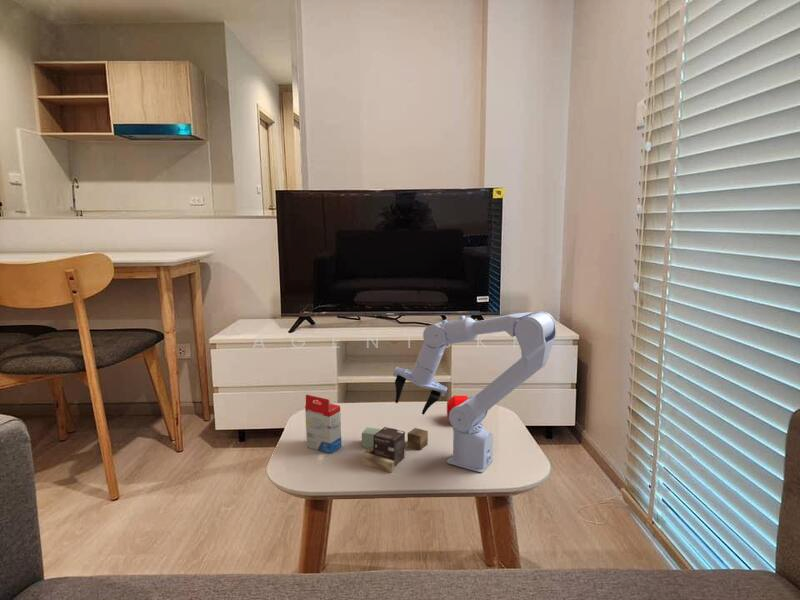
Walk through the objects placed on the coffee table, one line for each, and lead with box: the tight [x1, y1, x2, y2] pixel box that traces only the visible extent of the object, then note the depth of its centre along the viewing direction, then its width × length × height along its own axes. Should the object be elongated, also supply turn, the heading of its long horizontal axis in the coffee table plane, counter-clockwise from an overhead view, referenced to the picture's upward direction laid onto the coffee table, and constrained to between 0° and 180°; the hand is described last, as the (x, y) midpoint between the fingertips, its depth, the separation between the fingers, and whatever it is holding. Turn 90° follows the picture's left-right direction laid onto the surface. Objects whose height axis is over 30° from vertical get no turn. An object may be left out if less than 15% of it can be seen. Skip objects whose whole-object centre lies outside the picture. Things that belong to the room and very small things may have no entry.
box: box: [373, 426, 406, 468], centre depth 120 cm, size 6×6×7 cm
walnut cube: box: [406, 427, 429, 451], centre depth 128 cm, size 4×4×4 cm
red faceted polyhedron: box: [446, 395, 469, 419], centre depth 144 cm, size 8×8×8 cm
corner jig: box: [360, 446, 395, 474], centre depth 120 cm, size 9×9×2 cm
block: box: [361, 426, 382, 449], centre depth 129 cm, size 4×4×4 cm
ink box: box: [304, 394, 342, 454], centre depth 127 cm, size 8×5×15 cm, turn 59°
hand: (410, 406), depth 128 cm, fingers open, 7 cm apart
